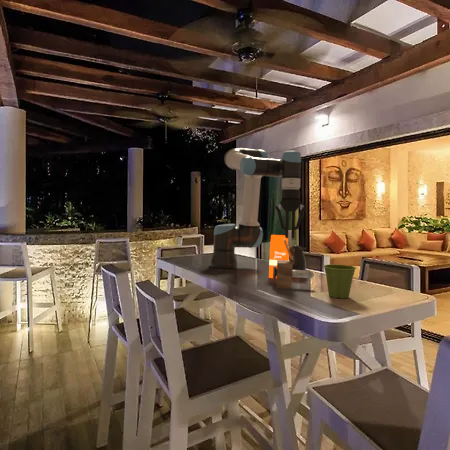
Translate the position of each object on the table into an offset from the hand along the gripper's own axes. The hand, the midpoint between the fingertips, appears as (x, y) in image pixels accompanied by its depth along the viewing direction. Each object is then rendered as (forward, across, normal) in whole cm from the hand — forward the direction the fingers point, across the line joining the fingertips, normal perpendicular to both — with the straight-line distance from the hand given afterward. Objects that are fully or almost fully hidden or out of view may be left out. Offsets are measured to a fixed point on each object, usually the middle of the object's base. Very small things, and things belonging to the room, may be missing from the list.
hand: (289, 246), depth 149 cm
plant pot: (+17, +18, -13) cm, 28 cm away
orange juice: (+17, -4, +21) cm, 27 cm away
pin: (+14, +2, 0) cm, 14 cm away
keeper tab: (+2, -1, 0) cm, 2 cm away
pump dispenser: (+17, +4, +26) cm, 31 cm away
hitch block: (+17, -2, 0) cm, 17 cm away
